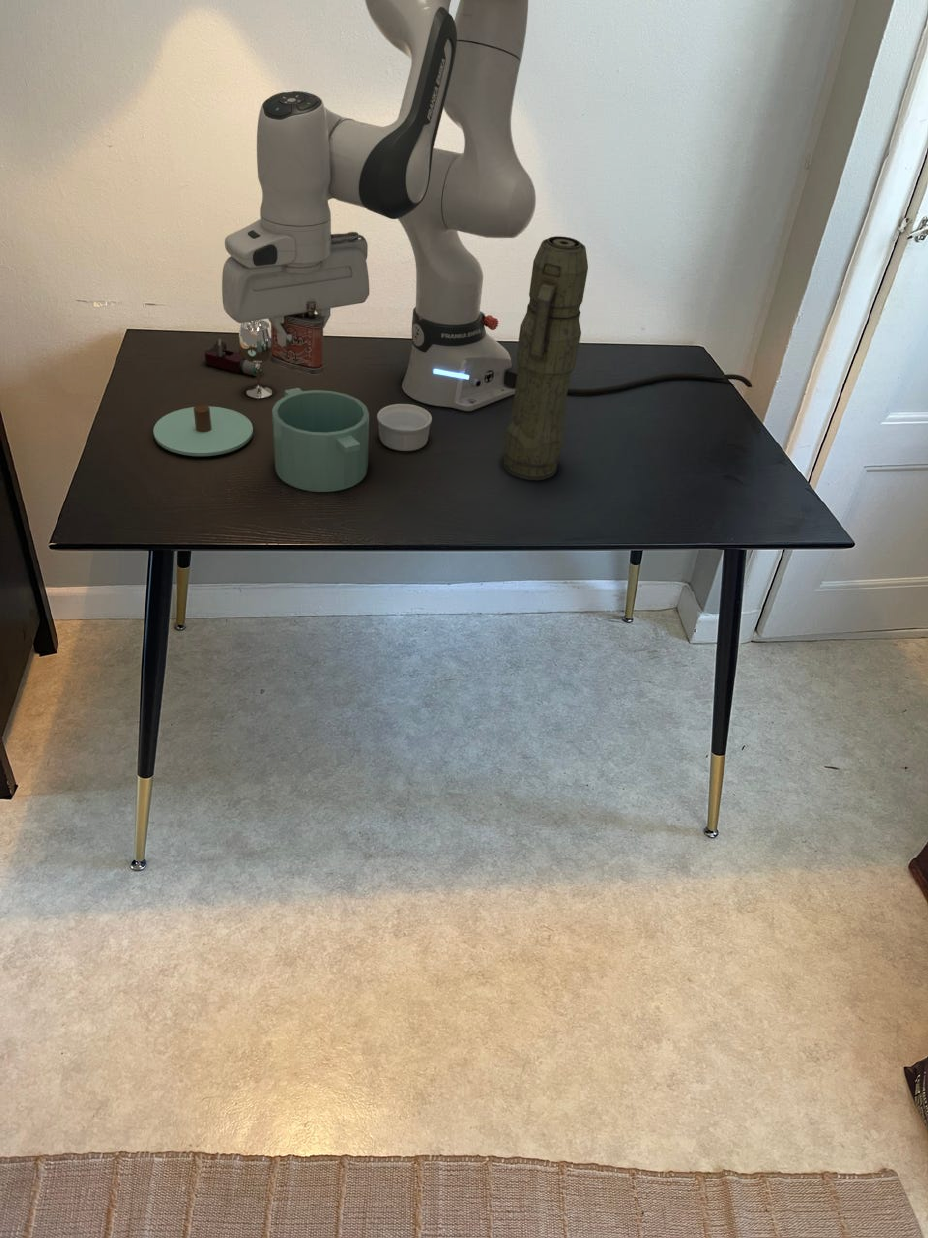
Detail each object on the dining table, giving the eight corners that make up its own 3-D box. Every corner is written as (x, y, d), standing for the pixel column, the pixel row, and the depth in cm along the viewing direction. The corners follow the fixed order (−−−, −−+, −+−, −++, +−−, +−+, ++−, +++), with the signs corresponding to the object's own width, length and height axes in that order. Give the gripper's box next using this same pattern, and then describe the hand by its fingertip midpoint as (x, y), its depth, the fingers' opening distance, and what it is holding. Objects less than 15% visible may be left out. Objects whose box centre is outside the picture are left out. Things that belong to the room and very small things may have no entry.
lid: (230, 405, 151) (227, 379, 148) (269, 446, 142) (267, 419, 139) (140, 424, 144) (136, 397, 141) (175, 468, 135) (171, 440, 132)
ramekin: (417, 458, 144) (419, 434, 141) (367, 444, 145) (367, 420, 143) (438, 435, 150) (440, 411, 147) (390, 422, 152) (390, 398, 149)
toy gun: (257, 380, 159) (256, 354, 156) (198, 365, 162) (195, 339, 159) (283, 360, 167) (282, 335, 164) (226, 346, 169) (224, 321, 166)
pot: (332, 430, 148) (332, 376, 142) (392, 487, 136) (395, 430, 130) (252, 448, 141) (248, 392, 135) (309, 510, 130) (308, 451, 124)
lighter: (327, 368, 127) (329, 298, 121) (315, 377, 125) (316, 305, 118) (278, 353, 129) (277, 283, 123) (265, 361, 126) (263, 290, 120)
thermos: (493, 477, 141) (522, 248, 119) (511, 443, 150) (541, 224, 128) (548, 490, 140) (588, 260, 117) (563, 455, 149) (602, 235, 126)
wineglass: (268, 402, 154) (265, 334, 146) (236, 396, 154) (231, 328, 147) (281, 388, 158) (278, 321, 150) (250, 382, 159) (245, 315, 151)
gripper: (355, 222, 123) (355, 321, 132) (212, 239, 113) (222, 344, 122) (379, 237, 119) (376, 338, 128) (232, 256, 109) (241, 363, 118)
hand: (300, 341), depth 125 cm, fingers closed on lighter, 3 cm apart
